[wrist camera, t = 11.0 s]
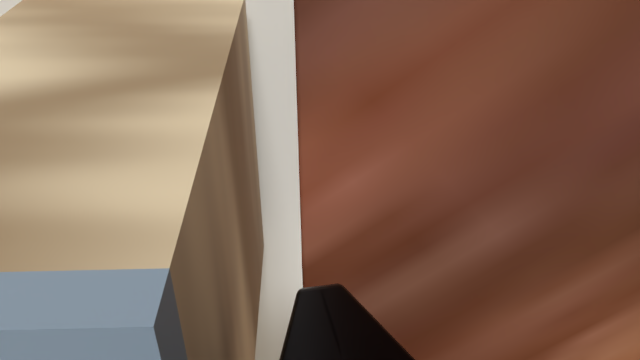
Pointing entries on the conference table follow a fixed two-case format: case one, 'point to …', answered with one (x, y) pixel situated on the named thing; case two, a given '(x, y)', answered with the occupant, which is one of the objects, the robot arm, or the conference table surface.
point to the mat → (272, 164)
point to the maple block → (128, 181)
